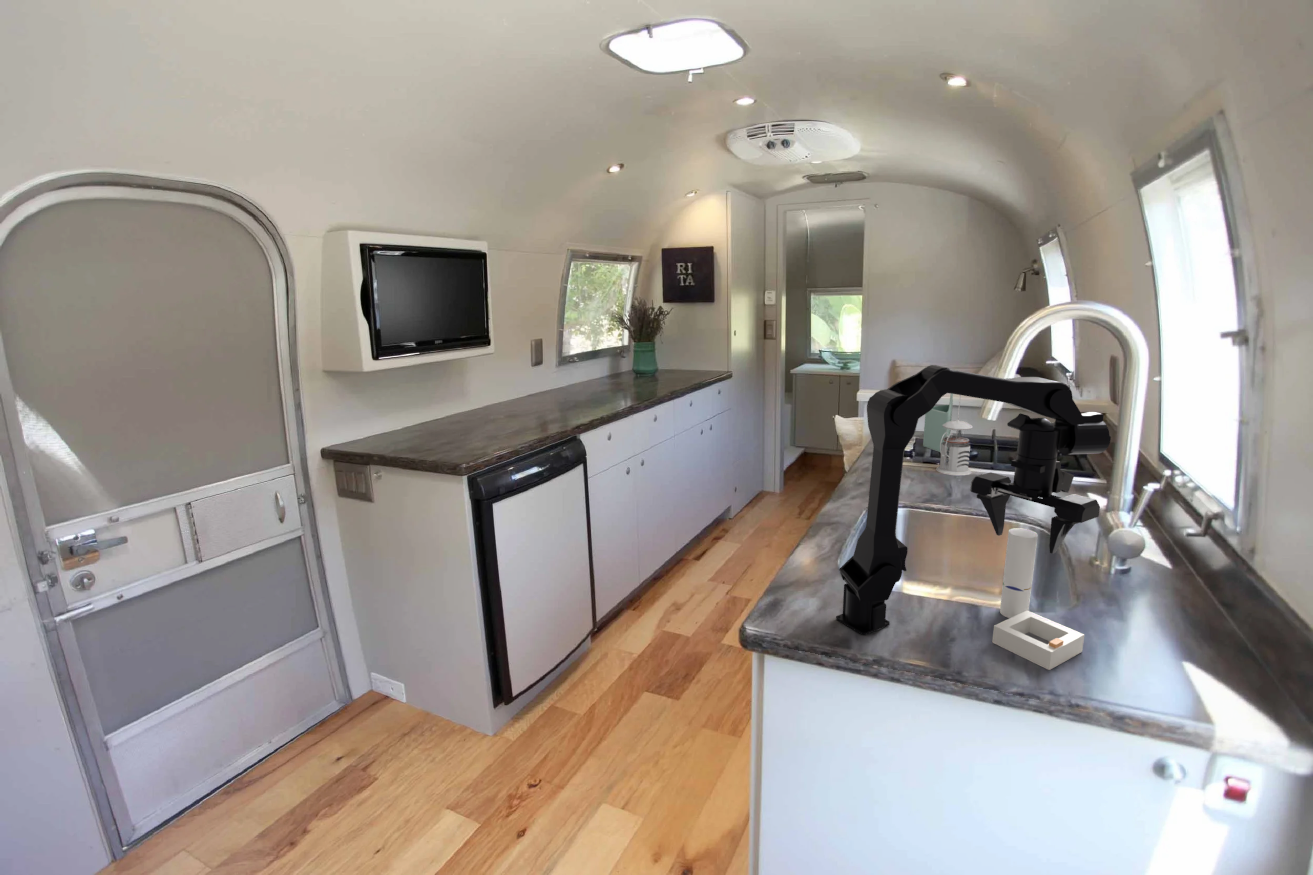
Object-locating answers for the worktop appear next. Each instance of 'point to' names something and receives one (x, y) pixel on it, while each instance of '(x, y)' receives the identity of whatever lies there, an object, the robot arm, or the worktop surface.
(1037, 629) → the white hollow square block
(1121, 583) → the worktop surface
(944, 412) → the planter
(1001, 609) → the tube
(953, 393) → the robot arm
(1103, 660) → the worktop surface
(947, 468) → the french press
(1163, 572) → the worktop surface
